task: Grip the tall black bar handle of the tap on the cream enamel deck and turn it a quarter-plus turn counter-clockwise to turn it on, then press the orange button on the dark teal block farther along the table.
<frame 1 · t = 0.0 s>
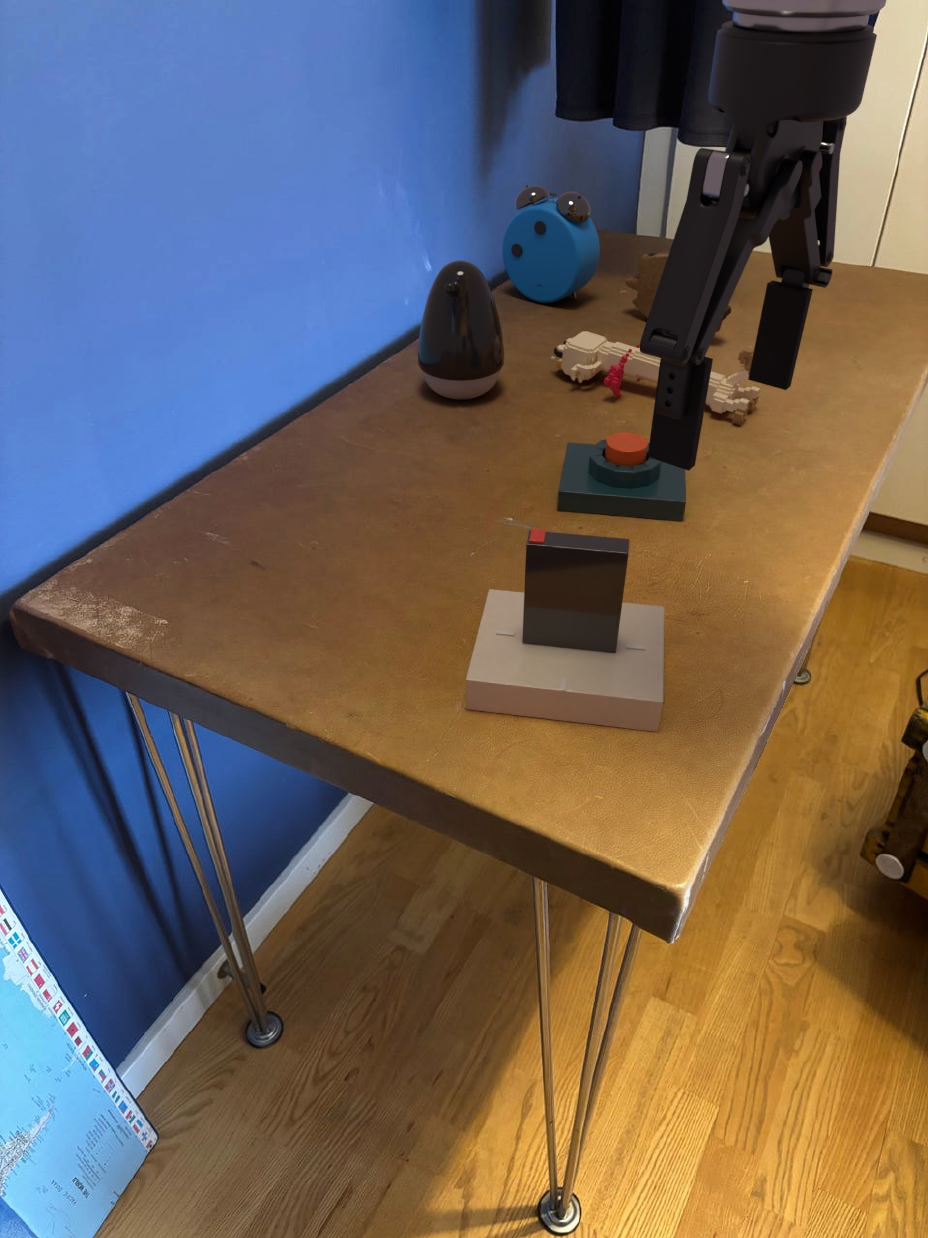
hand: (723, 420, 58), 21 cm above the table, tool pointing down, fingers open, 13 cm apart
tap handle: (573, 591, 66), point 8 cm above the table, hinge at 0.0°
button block: (621, 489, 92), on the table
wooden carving: (671, 329, 125), on the table
button: (626, 449, 89), point 4 cm above the table, slide at 0.1 cm
alarm clock: (547, 299, 134), on the table
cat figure: (646, 394, 109), on the table
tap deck: (567, 670, 71), on the table
dark egg shaped device: (461, 392, 110), on the table
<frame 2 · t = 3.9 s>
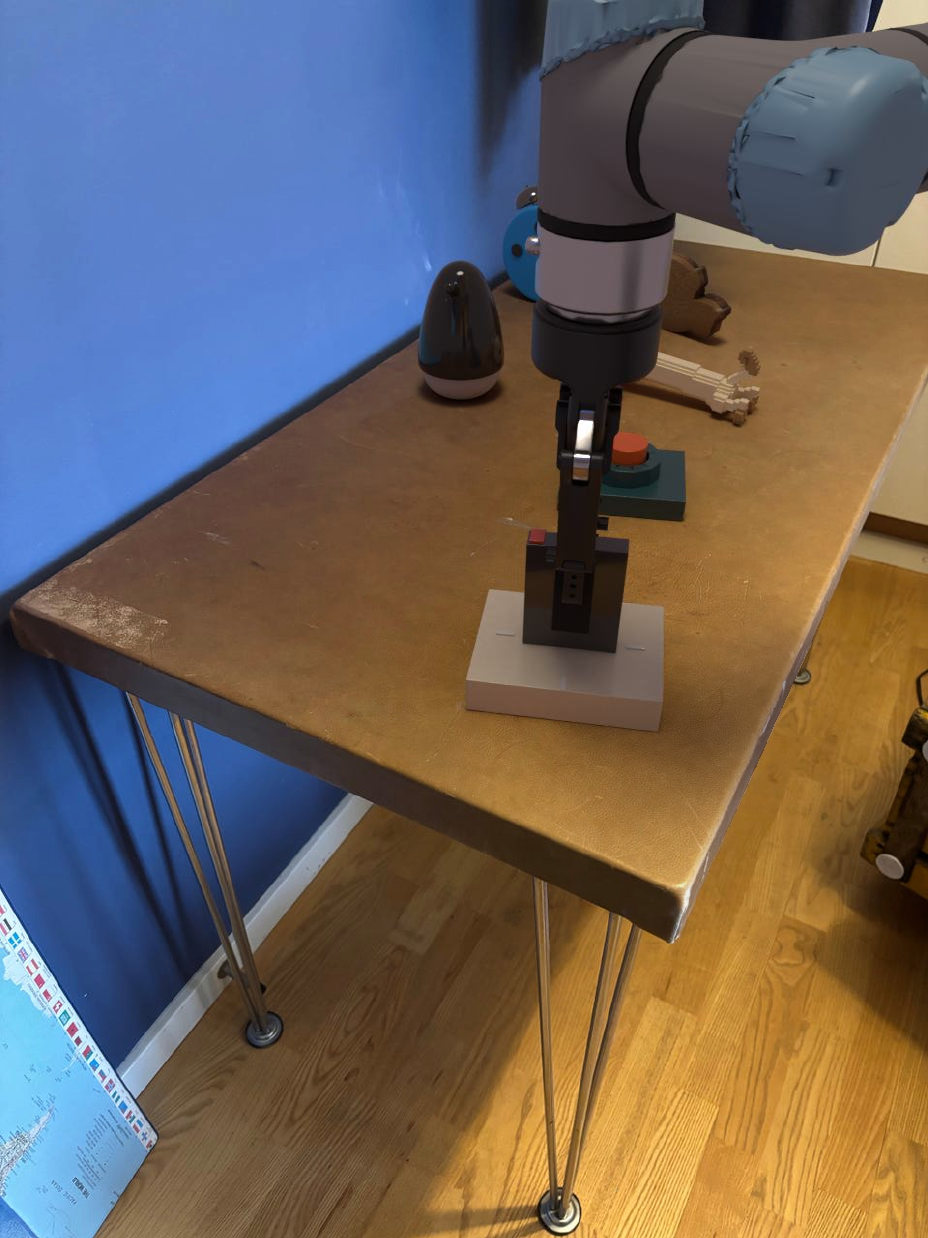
hand: (571, 617, 67), 5 cm above the table, tool pointing down, fingers closed on tap handle, 2 cm apart
tap handle: (573, 591, 66), point 8 cm above the table, hinge at 0.0°, touching gripper
everything else where it was.
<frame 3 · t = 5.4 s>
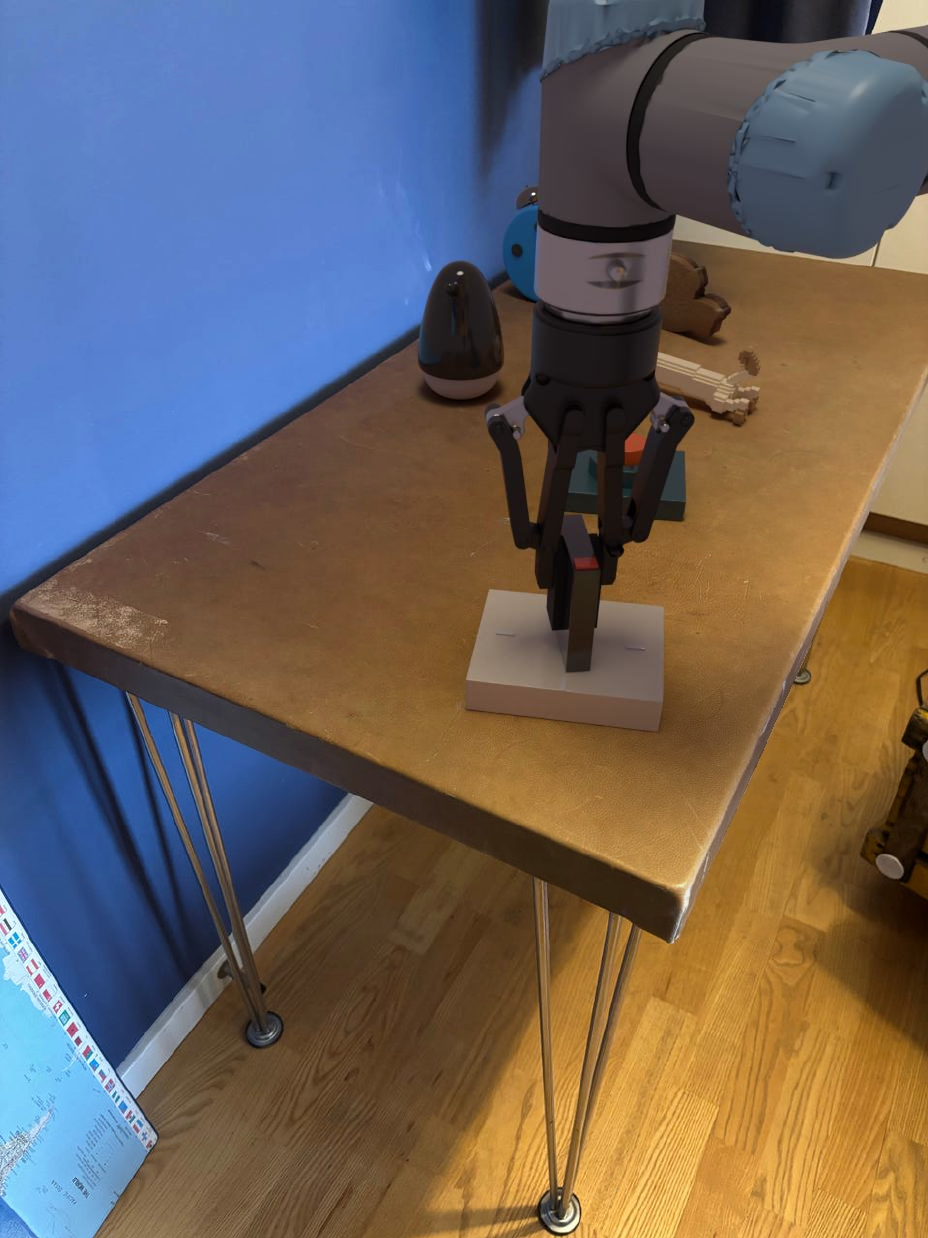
hand: (571, 617, 67), 5 cm above the table, tool pointing down, fingers closed on tap handle, 2 cm apart
tap handle: (573, 591, 66), point 8 cm above the table, hinge at 104.8°, touching gripper
everything else where it was.
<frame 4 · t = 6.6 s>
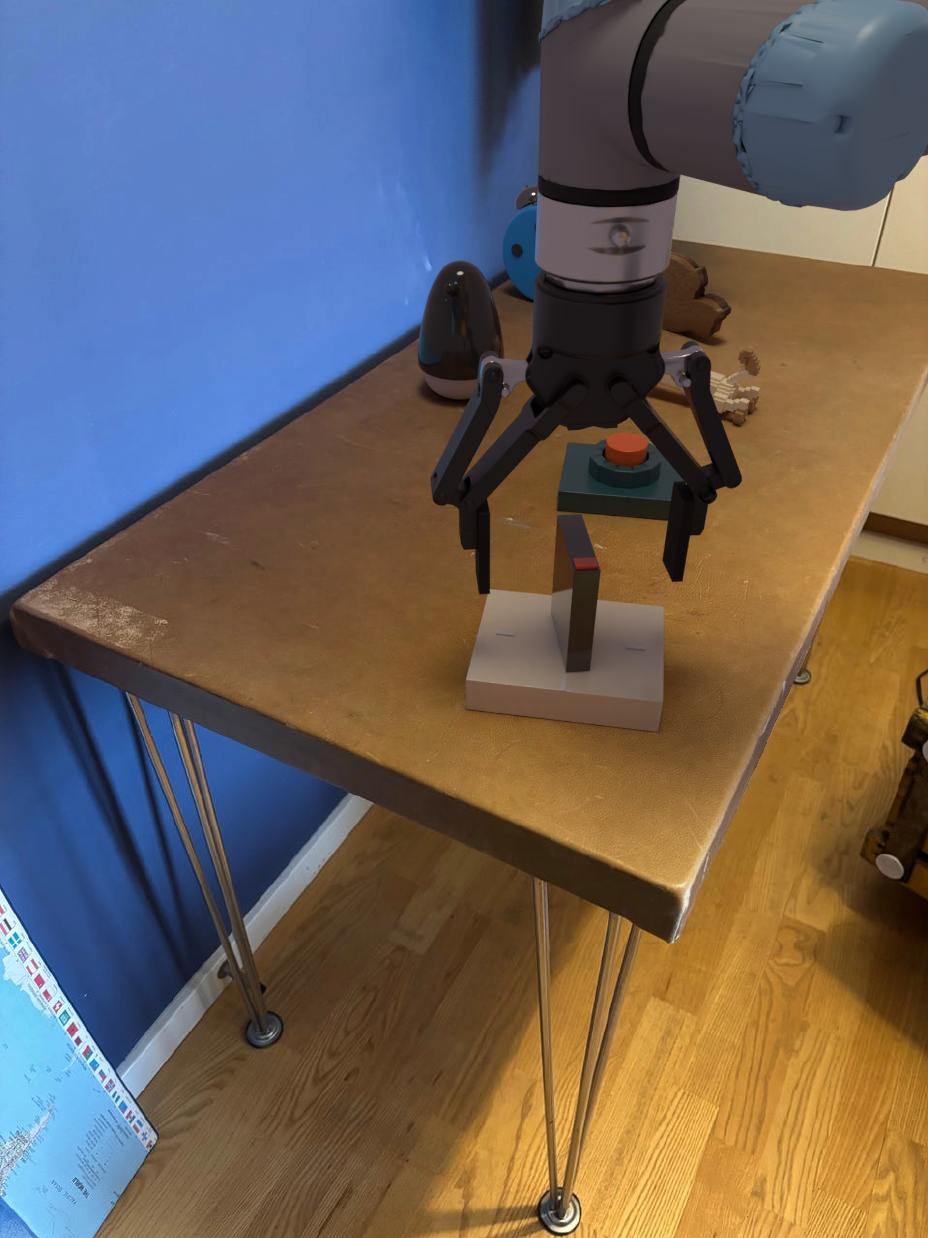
hand: (578, 577, 65), 9 cm above the table, tool pointing down, fingers open, 13 cm apart
tap handle: (573, 591, 66), point 8 cm above the table, hinge at 104.8°
everything else where it was.
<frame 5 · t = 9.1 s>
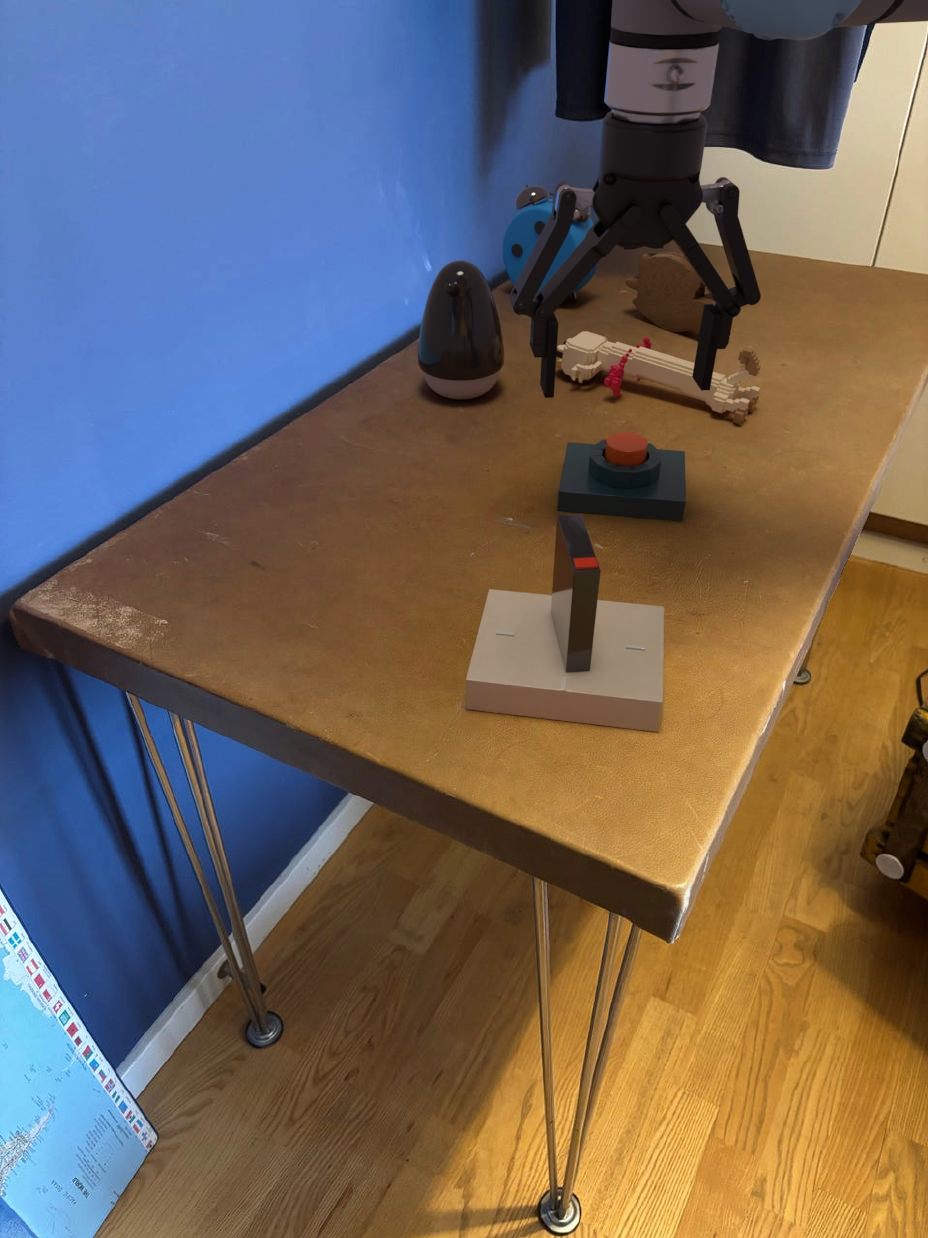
hand: (624, 387, 79), 13 cm above the table, tool pointing down, fingers open, 13 cm apart
nothing on the table moved.
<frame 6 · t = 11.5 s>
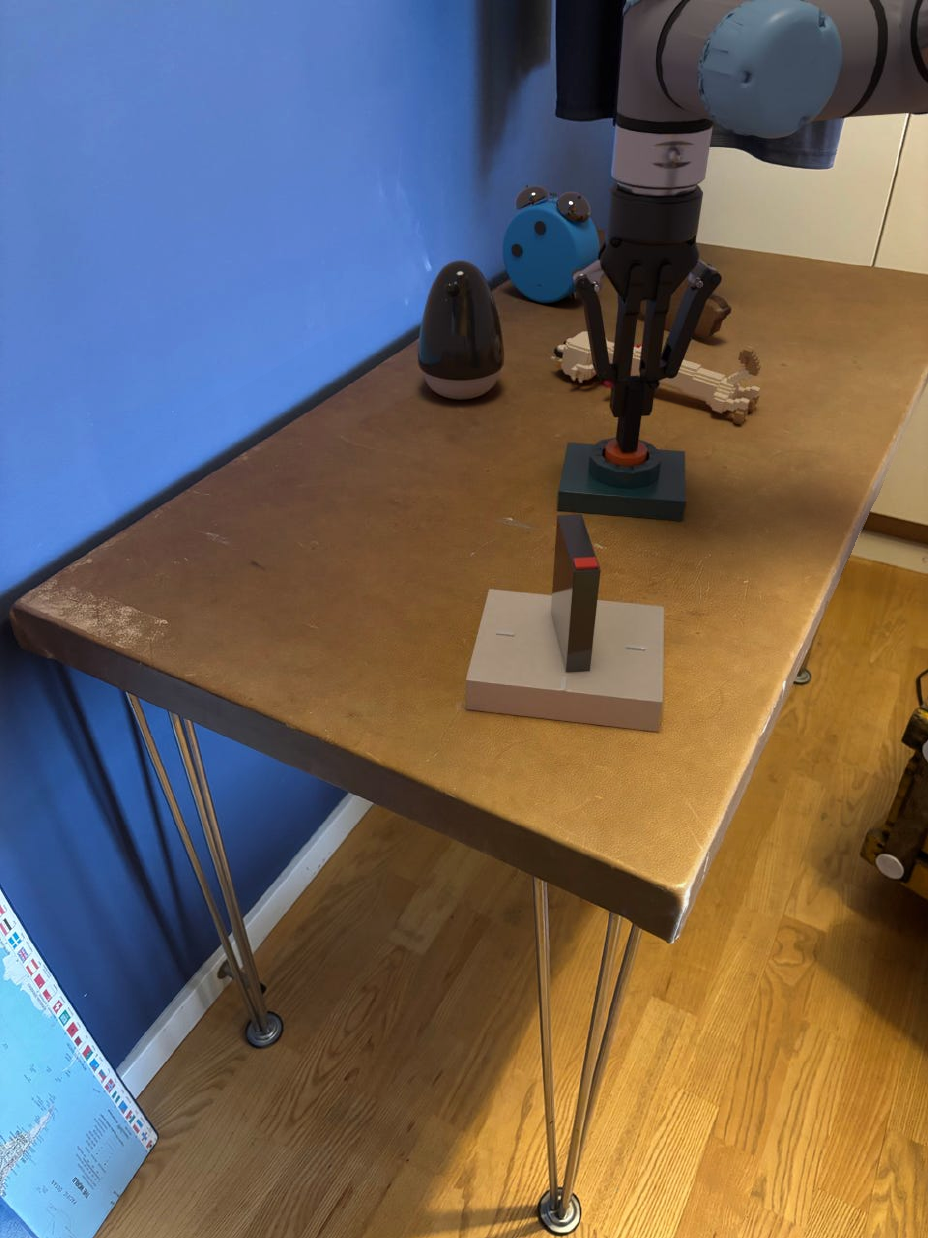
hand: (626, 444, 88), 5 cm above the table, tool pointing down, fingers closed
button: (625, 455, 89), point 4 cm above the table, slide at -0.6 cm, touching gripper
everything else where it was.
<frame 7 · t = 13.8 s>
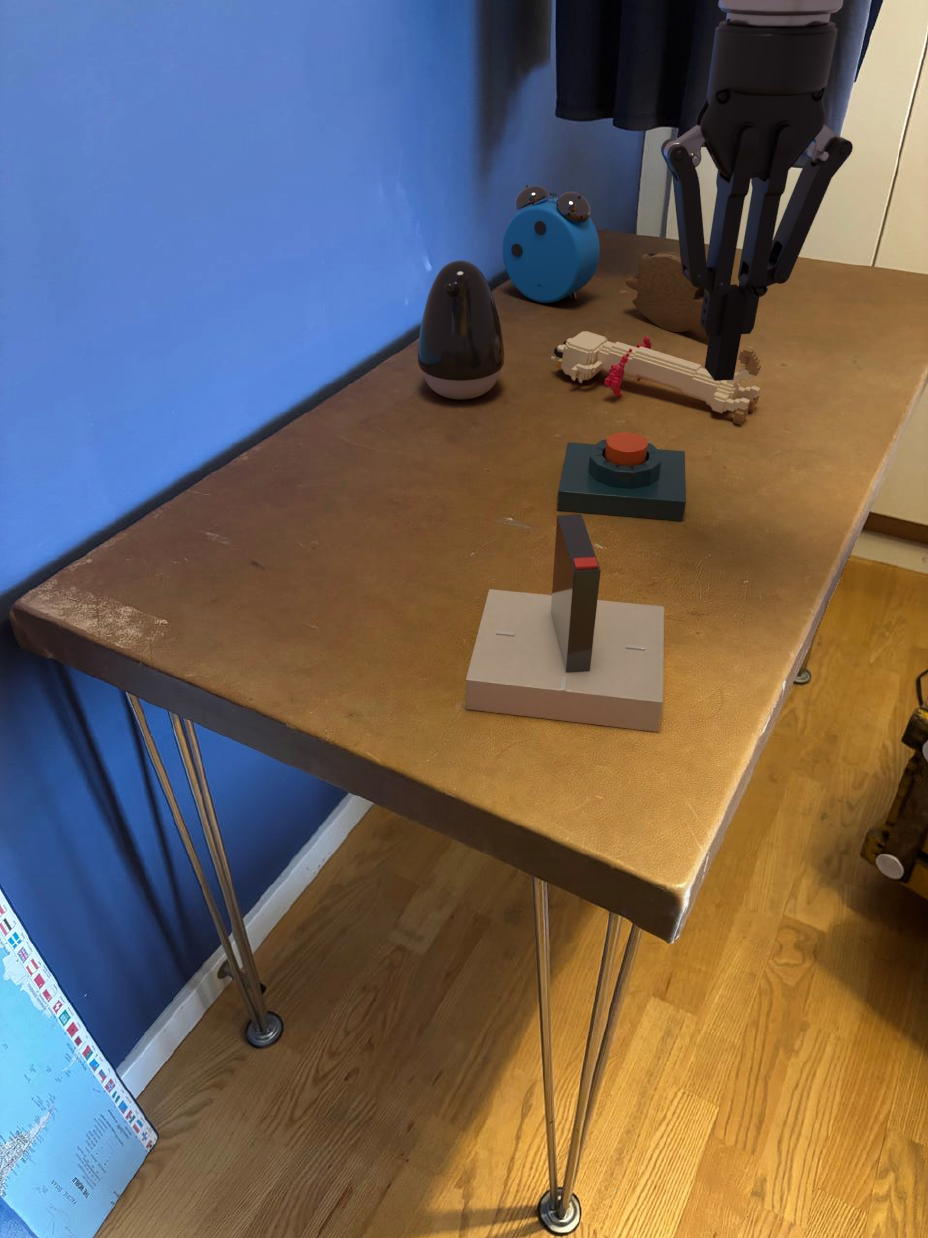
hand: (718, 373, 72), 17 cm above the table, tool pointing down, fingers closed
button: (626, 449, 89), point 4 cm above the table, slide at 0.1 cm
everything else where it was.
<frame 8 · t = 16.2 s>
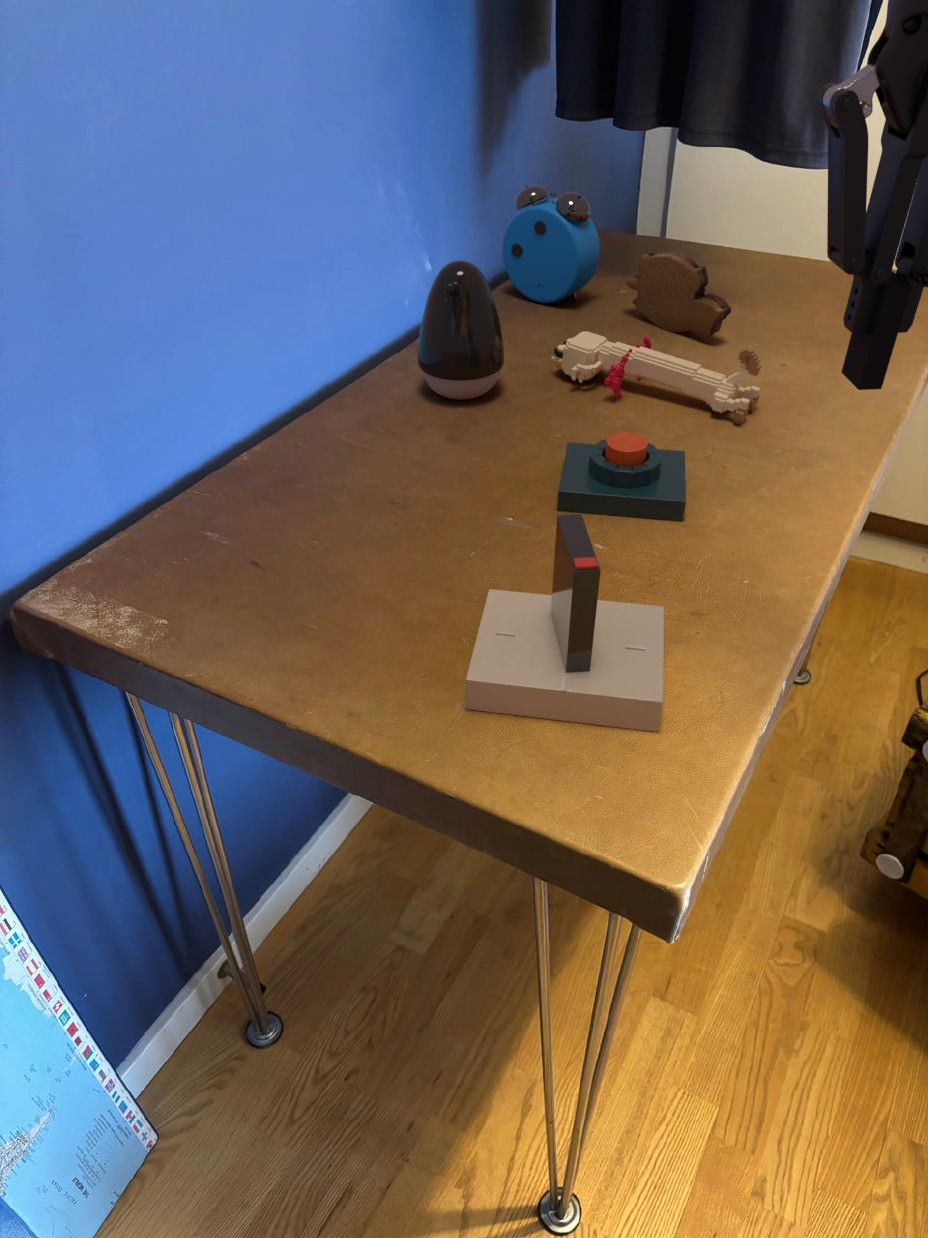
hand: (861, 380, 59), 22 cm above the table, tool pointing down, fingers closed
nothing on the table moved.
at the end: tap handle at +105° (first picture: +0°); button pushed in 1.0 cm at the most during the clip, back to where it started at the end; button slide at 0.1 cm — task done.
